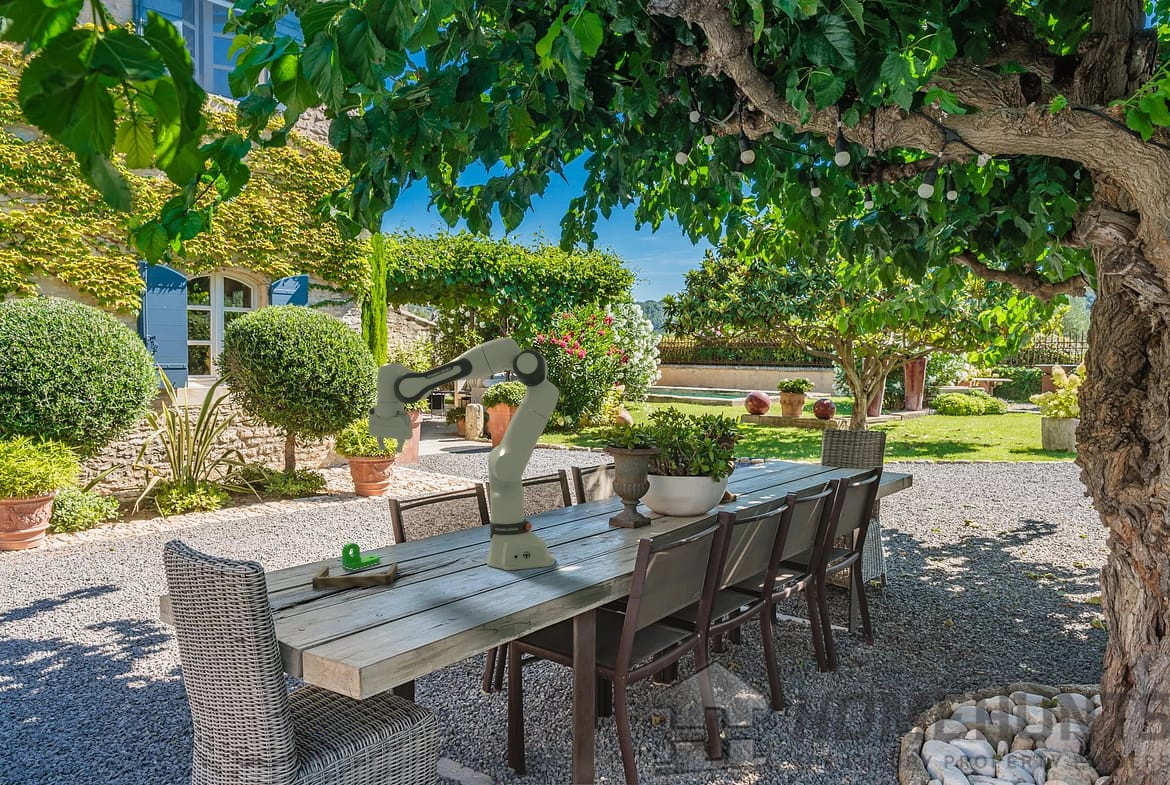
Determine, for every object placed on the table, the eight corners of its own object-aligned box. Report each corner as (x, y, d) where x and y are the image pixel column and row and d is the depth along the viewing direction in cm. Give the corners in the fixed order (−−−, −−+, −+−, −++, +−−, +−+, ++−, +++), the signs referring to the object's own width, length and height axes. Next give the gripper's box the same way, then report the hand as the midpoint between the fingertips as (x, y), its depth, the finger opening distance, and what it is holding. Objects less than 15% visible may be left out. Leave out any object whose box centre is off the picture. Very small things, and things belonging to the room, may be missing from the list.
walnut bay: (397, 572, 243) (397, 563, 243) (390, 585, 230) (390, 575, 229) (324, 575, 241) (323, 566, 241) (312, 588, 228) (312, 578, 227)
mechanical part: (354, 571, 247) (353, 546, 246) (342, 568, 250) (341, 544, 250) (383, 562, 256) (382, 539, 256) (372, 560, 260) (371, 537, 260)
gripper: (417, 411, 251) (417, 453, 252) (380, 408, 264) (380, 448, 265) (401, 412, 246) (401, 454, 247) (365, 409, 260) (365, 449, 260)
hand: (390, 451), depth 256 cm, fingers open, 8 cm apart
